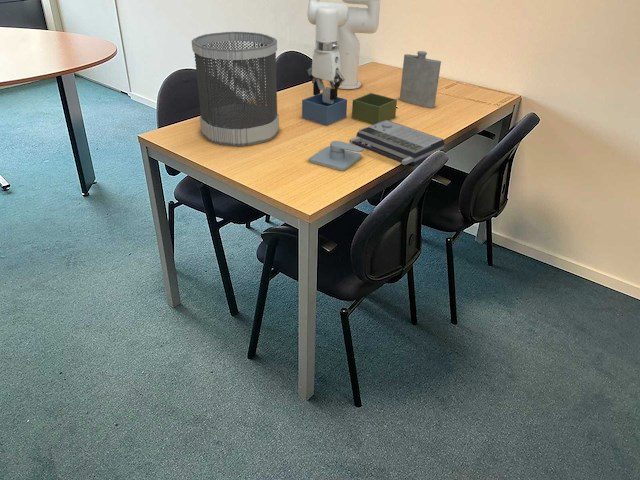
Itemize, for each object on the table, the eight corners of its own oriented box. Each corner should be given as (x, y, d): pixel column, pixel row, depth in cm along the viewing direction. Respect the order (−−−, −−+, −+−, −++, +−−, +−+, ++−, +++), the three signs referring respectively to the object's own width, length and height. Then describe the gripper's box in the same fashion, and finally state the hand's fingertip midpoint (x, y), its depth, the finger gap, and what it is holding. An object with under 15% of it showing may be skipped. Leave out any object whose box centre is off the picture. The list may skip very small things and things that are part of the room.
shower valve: (352, 156, 152) (308, 144, 158) (351, 173, 155) (308, 161, 161) (371, 142, 161) (329, 132, 167) (370, 159, 164) (328, 148, 170)
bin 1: (301, 118, 193) (302, 99, 190) (321, 110, 201) (322, 92, 197) (326, 125, 187) (327, 107, 184) (346, 117, 195) (347, 99, 191)
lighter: (333, 102, 190) (334, 80, 186) (331, 104, 189) (331, 81, 184) (318, 98, 194) (319, 76, 189) (315, 99, 192) (316, 77, 188)
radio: (446, 136, 167) (407, 153, 155) (443, 152, 170) (405, 169, 158) (386, 116, 181) (347, 130, 169) (385, 131, 184) (346, 146, 172)
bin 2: (351, 118, 195) (352, 100, 191) (369, 110, 202) (370, 92, 199) (377, 125, 189) (379, 107, 185) (395, 117, 196) (397, 99, 193)
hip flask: (436, 106, 208) (443, 54, 197) (430, 109, 205) (437, 56, 195) (402, 97, 217) (407, 47, 206) (396, 99, 214) (402, 48, 203)
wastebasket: (220, 151, 166) (212, 53, 150) (192, 126, 184) (181, 36, 168) (290, 136, 177) (289, 44, 161) (257, 114, 195) (253, 29, 179)
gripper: (353, 48, 178) (350, 99, 188) (313, 40, 187) (313, 89, 197) (339, 52, 174) (337, 104, 183) (300, 43, 183) (300, 94, 192)
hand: (325, 96), depth 190 cm, fingers closed on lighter, 7 cm apart
